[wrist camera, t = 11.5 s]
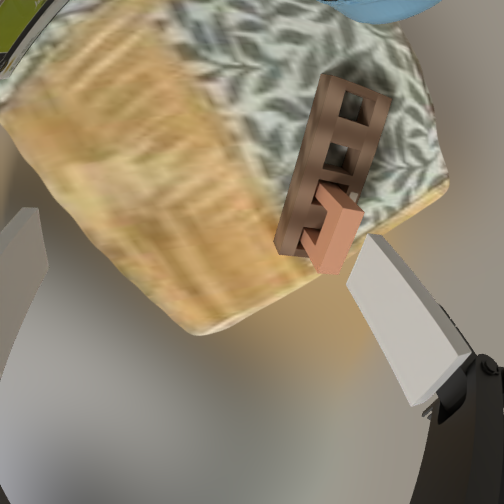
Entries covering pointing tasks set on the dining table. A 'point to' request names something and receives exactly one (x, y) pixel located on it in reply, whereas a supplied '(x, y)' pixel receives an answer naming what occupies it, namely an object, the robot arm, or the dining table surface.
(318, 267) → the pink u-shaped block
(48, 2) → the grey electronic device
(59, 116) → the dining table surface
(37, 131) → the dining table surface
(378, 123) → the brown compartment rack
